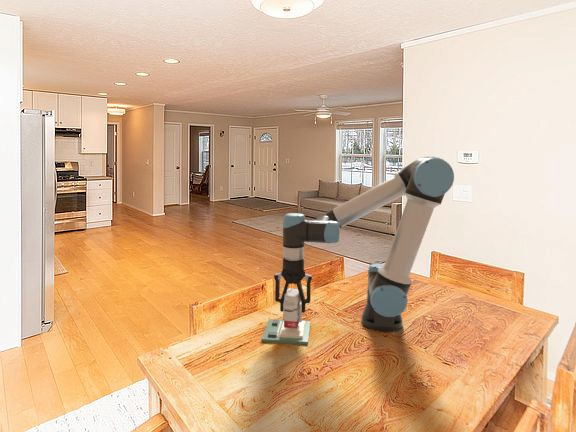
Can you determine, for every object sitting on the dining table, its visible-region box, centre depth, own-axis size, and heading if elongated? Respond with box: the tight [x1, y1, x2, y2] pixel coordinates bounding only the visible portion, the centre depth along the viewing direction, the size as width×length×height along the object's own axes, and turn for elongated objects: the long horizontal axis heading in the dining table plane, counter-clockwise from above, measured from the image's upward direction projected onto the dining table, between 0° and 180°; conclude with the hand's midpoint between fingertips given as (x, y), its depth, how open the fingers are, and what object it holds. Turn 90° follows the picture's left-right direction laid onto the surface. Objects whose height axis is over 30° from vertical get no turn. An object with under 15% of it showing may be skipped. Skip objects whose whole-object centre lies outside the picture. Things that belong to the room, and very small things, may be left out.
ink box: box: [284, 287, 301, 329], centre depth 136 cm, size 9×5×12 cm, turn 169°
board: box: [260, 318, 311, 346], centre depth 138 cm, size 16×16×2 cm
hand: (292, 320), depth 137 cm, fingers closed on ink box, 5 cm apart
